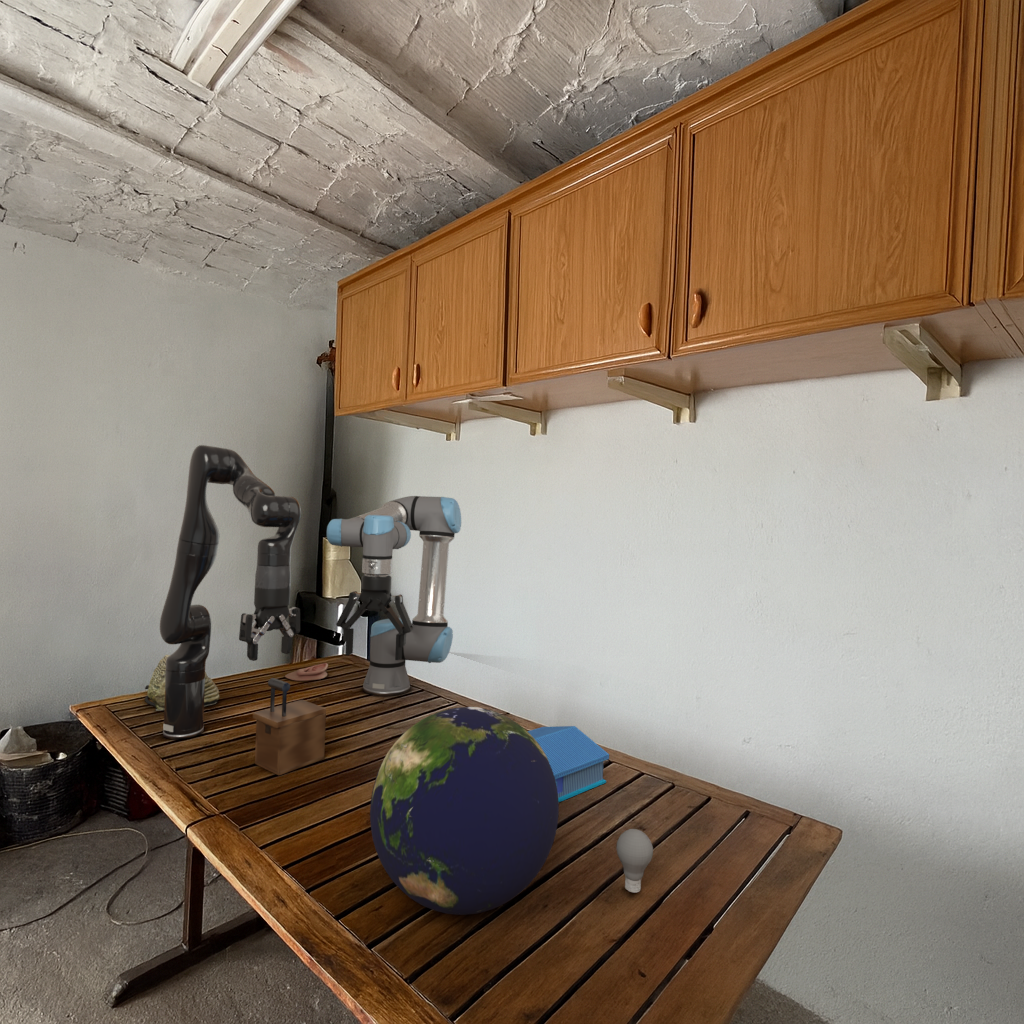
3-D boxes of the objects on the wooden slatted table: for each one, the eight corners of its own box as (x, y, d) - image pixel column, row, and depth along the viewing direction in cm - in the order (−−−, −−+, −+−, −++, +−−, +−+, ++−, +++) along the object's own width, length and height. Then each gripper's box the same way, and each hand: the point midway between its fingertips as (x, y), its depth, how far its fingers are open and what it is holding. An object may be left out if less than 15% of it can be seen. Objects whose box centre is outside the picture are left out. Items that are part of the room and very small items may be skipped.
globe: (325, 925, 94) (333, 724, 93) (426, 831, 121) (433, 676, 121) (512, 993, 82) (522, 765, 82) (577, 872, 110) (584, 701, 110)
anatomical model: (280, 667, 215) (298, 659, 227) (279, 678, 215) (297, 670, 227) (316, 671, 213) (332, 662, 224) (315, 682, 213) (332, 673, 224)
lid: (276, 728, 142) (278, 687, 142) (252, 718, 147) (254, 679, 147) (326, 713, 153) (327, 675, 152) (301, 704, 158) (303, 668, 158)
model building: (485, 844, 118) (488, 791, 117) (412, 795, 136) (414, 749, 136) (617, 787, 144) (619, 743, 144) (541, 752, 162) (543, 713, 162)
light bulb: (610, 879, 108) (613, 822, 108) (644, 879, 109) (647, 822, 109) (619, 902, 102) (622, 840, 102) (655, 901, 103) (658, 840, 103)
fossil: (144, 707, 182) (145, 655, 182) (212, 696, 194) (213, 647, 194) (151, 716, 175) (153, 662, 175) (221, 703, 188) (223, 653, 188)
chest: (278, 775, 143) (280, 727, 143) (254, 763, 148) (256, 717, 148) (324, 758, 153) (326, 713, 153) (300, 748, 158) (301, 704, 158)
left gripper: (255, 589, 134) (252, 666, 134) (309, 583, 146) (306, 653, 146) (233, 585, 138) (230, 659, 138) (288, 580, 150) (285, 648, 150)
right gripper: (325, 573, 162) (322, 655, 162) (418, 579, 157) (414, 664, 158) (338, 570, 169) (335, 649, 170) (427, 576, 165) (424, 657, 165)
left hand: (269, 656), depth 142 cm, fingers open, 8 cm apart
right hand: (373, 656), depth 164 cm, fingers open, 13 cm apart
